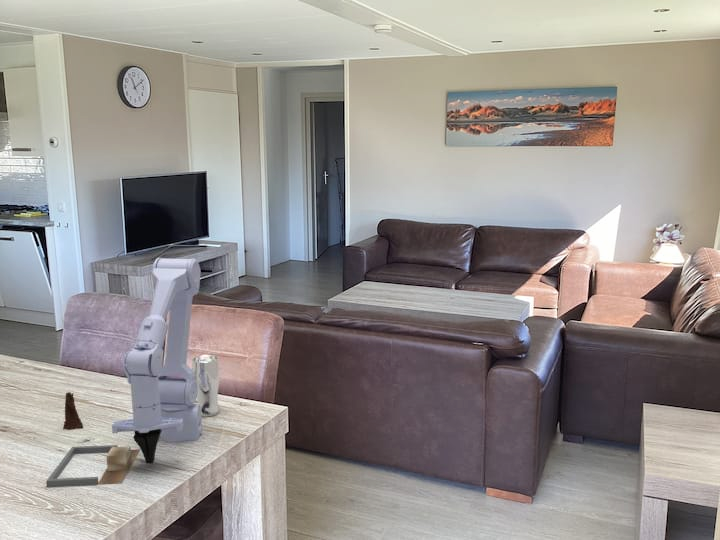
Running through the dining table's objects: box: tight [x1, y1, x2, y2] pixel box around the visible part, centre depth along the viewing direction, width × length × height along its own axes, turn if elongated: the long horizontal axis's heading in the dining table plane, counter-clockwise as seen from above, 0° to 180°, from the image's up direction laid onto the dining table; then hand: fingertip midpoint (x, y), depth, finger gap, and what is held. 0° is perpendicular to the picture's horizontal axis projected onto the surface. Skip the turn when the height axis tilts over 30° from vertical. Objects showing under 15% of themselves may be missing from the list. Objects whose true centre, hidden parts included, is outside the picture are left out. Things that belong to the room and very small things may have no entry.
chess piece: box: [63, 391, 84, 431], centre depth 158 cm, size 5×5×10 cm
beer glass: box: [191, 354, 221, 418], centre depth 168 cm, size 7×7×15 cm
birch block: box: [106, 445, 132, 471], centre depth 138 cm, size 4×4×4 cm
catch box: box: [45, 444, 119, 488], centre depth 138 cm, size 10×15×3 cm, turn 5°
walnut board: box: [96, 448, 141, 486], centre depth 138 cm, size 5×15×1 cm, turn 5°
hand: (150, 461), depth 139 cm, fingers closed
